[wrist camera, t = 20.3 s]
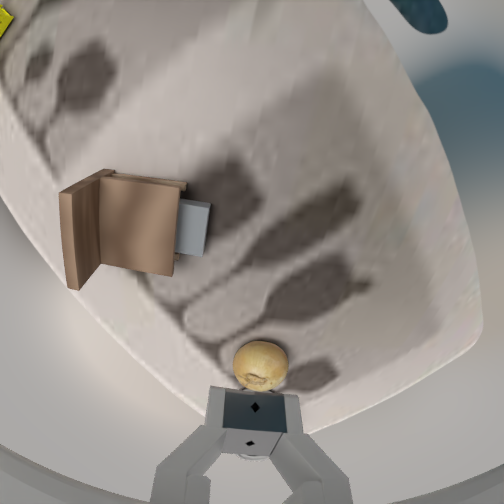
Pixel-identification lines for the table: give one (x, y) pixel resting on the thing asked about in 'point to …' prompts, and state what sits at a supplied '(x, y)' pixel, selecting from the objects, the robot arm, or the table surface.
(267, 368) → the onion
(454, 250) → the table surface
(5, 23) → the yellow toy chassis
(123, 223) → the tan bookend
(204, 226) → the two-tone tall prism
